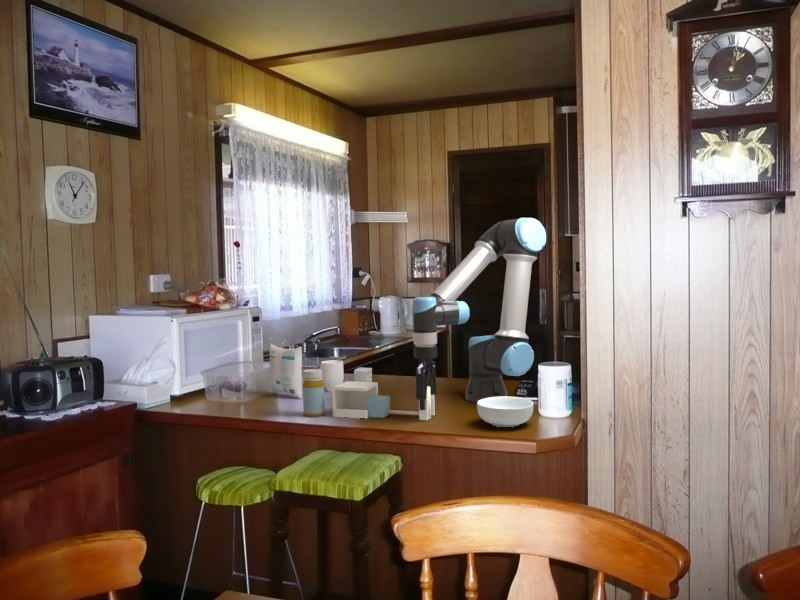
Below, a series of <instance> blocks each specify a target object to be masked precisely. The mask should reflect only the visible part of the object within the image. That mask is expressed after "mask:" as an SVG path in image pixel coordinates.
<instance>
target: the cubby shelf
mask: <svg viewBox="0 0 800 600" xmlns="http://www.w3.org/2000/svg"><path fill="white" fill-rule="evenodd" d="M372 395H379V382H375V381H372V382H354V380H352V381H349V380H346V381H343V383H341V384H339V385H336V386H334V387H333V390H332V392H331V399H332V402H331V403H332V417H333V418H344V417H346V419H347V417H348V419H349V418H350V419H360V418H365V419H364V420H367V419H369V417H368V410H366V398H368V397H370V396H372Z"/></svg>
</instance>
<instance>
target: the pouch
mask: <svg viewBox="0 0 800 600" xmlns="http://www.w3.org/2000/svg"><path fill="white" fill-rule="evenodd" d="M269 345H270V346H269V392H270V394H271V395H272V394H274V393H286V394H289V395H292V396H295V398H298V399H300V400H303V350H302V346H298V347H296V348H284V347H280V346H276V345H275V344H273V343H270V344H269Z"/></svg>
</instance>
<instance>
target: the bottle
mask: <svg viewBox="0 0 800 600" xmlns="http://www.w3.org/2000/svg"><path fill="white" fill-rule="evenodd" d="M302 400H303V402H302V403H303V404H302V405H303V406H302V407H303V415H304V416H305V417H307V418H317V417H322V416H324V414H325V411H326V409H325V407H326V406H325V404H326V403H325V385H324V383H323V380H322V370H321V369H319V368H311V369H305V370H303V381H302Z"/></svg>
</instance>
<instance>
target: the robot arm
mask: <svg viewBox="0 0 800 600" xmlns="http://www.w3.org/2000/svg"><path fill="white" fill-rule="evenodd" d="M546 243H547V234H546V228H545V227H544V225H542V223H541V221H539V220H537V218H533V217H520V218H515V219H514V218H513V219H506V220H501V221H499V222H497V223H495V224H494V225H493V226H491V227H490V228H489V229H487V231H485V232H484V234H482V235H481V236H480V237H479V238H478V239H477V241H476V242H475V243H474V248H473V249H472V250H471V251H470V252H469V254H468V255H466V257H464V258H463V260H462V261H461V262H460V263H459V264H458V265H457V266H456V268H454V270H452V271H451V272H450V274H449V275H448V276H447V277H446V278H445V279H444V280H443V281H442V282H441V283H440V285H439V286H437V288H436V289H435V290H433V292H432V293H430V295H429V296H416V297H414V298H413V300H412V308H411V309H412V310H411V312H412V331H413V333H412V336H411V337H412V338H413V345H414V346H413V357H414V358H415V359H418V360H419V361H418V365H417V366H415V369H414V370H415V400H418V411H419V415H418V419H419V420H420V421H429V419H428V399H426V398H427V386H430V392H431V416H435V414H436V413H435V412H436V411H435V409H436V407H435V395H437V394H438V392H437V375H436V374H437V373H436V366H437V365H436V364H437V363H436V361H433V359H435V358H437V357H438V347H437V344H438V327H439V326H448V325H449V326H450V325H461V324H465V323H467V321H468V320H469V319H470V307H469V306H468V304H467V303H466V302H465V301H464V300H460V301H459V300H457V299H458V298H459V297H460V296H461V294H463V292H464V291H466V289H467V288H468V287H469V285H471V284H472V282H474V281H475V279H476V278H477V277H478V276H479V275H480V274H481V273H482V272H483V270H485V269H486V267H487V266H489V264H490V263H493V262H495V261H496V260H498V258H499V257H501V256H502V257H503V258H504V259H505V260H506V266H505V267H506V268H505V269H506V270H505V277H504V284H503V288H504V289H503V297H502V305H501V306H502V307H501V315H500V324H499V325H500V326H499V330H498V331H497V332H496V333H494V334H491V335H481V336H480V335H479V336H472V337H470V339H469V341H468V355H469V357H468V359H469V360H468V361H469V362H468V364H469V379H468V383H467V387H466V389H465V391H464V393H465V396H464V397H465V400H466V401H469V402H475V403H477V402H478V401H479V400H481V399H484V398H489V397H500V396H508V391H507V388H506V384H505V382H504V379H503V375H506V376H509V377H510V376H511V377H512V376H513V377H520V376H522V375H525V374H526V373H527V372H528V371H529V370H530V369H532V366H533V364H534V360H535V353H534V349H532V346H531V345H530V344H529V339H530V338H529V336H528V335H527V334H526V323H527V317H528V316H527V315H528V306H529V305H528V304H529V296H530V295H529V294H530V287H531V278H532V277H531V275H532V266H533V264H534V262H535V261H536V260H538V253H539V252H540V251H541V250H542V249H543V248H544V247H545V245H546Z"/></svg>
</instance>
